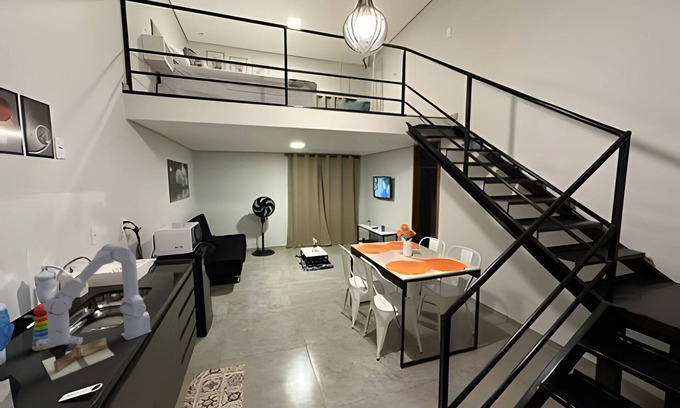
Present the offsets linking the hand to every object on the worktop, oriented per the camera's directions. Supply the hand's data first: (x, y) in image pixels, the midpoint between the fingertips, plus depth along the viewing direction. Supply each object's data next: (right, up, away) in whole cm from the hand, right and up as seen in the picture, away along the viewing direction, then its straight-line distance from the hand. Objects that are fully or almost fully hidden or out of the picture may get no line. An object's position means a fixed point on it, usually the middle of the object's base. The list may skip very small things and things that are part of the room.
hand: (61, 362), depth 107 cm
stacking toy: (-21, -1, +14) cm, 25 cm away
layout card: (+1, -2, +6) cm, 6 cm away
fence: (+4, -1, +9) cm, 10 cm away
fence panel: (+1, -1, +1) cm, 2 cm away
